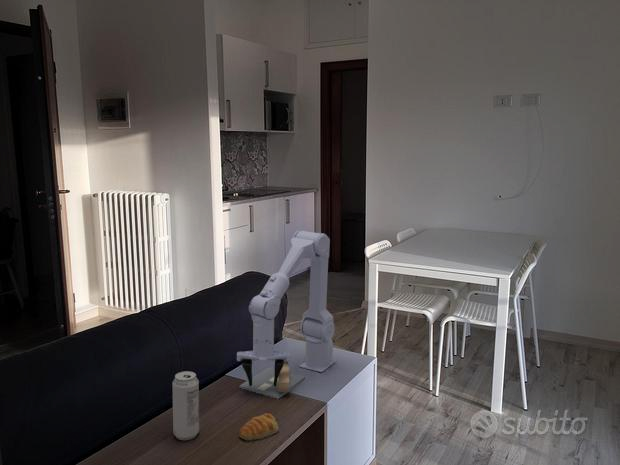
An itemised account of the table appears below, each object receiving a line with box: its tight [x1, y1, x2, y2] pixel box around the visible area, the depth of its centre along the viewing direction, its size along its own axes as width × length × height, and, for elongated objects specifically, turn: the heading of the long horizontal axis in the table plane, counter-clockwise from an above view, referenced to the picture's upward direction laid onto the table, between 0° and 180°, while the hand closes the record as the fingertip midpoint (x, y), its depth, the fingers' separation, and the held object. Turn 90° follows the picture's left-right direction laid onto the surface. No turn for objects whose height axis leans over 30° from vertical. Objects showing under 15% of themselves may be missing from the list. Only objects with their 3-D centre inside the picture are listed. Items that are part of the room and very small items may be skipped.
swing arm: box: [278, 361, 290, 393], centre depth 153 cm, size 16×3×3 cm, turn 3°
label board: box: [239, 366, 306, 400], centre depth 155 cm, size 15×13×1 cm
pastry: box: [238, 412, 279, 441], centre depth 128 cm, size 9×7×4 cm
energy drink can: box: [172, 370, 200, 441], centre depth 125 cm, size 6×6×15 cm
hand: (263, 384), depth 148 cm, fingers open, 6 cm apart
